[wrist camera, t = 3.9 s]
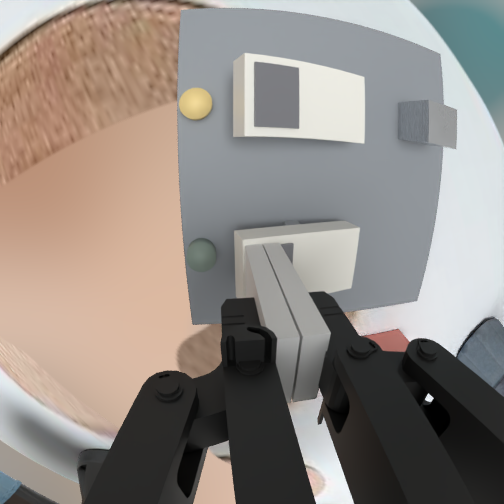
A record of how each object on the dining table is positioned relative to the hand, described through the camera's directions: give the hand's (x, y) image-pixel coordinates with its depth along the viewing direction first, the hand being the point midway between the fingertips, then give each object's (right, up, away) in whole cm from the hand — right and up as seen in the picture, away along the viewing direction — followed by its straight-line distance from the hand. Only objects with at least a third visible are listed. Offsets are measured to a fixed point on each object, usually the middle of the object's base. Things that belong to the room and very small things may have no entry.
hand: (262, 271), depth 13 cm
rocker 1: (+2, +8, -2) cm, 8 cm away
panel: (+4, +6, +4) cm, 9 cm away
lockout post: (+10, +9, +1) cm, 13 cm away
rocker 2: (+2, 0, +1) cm, 2 cm away
